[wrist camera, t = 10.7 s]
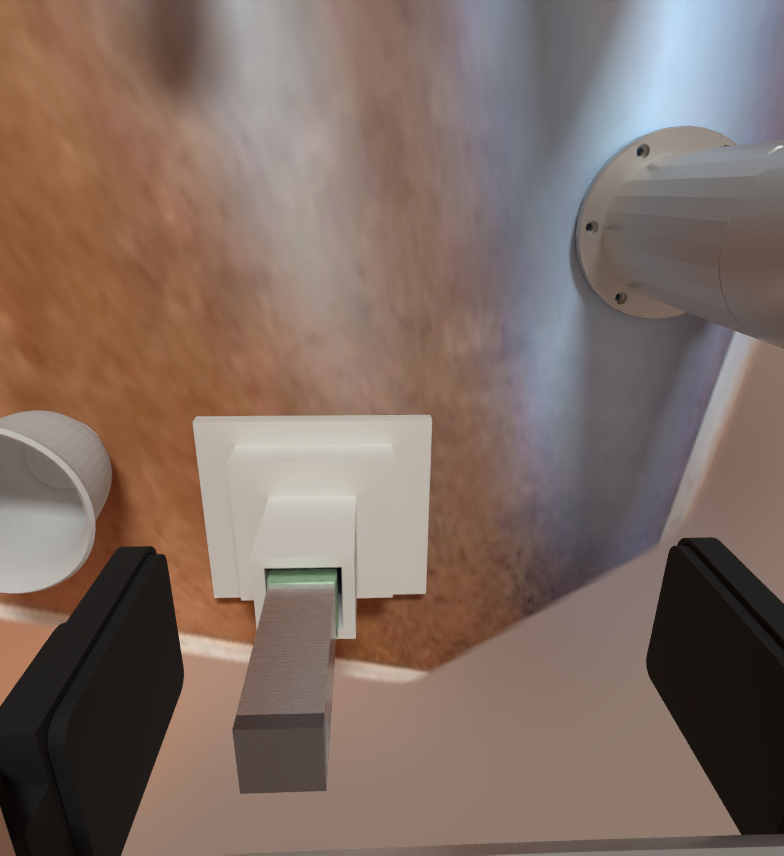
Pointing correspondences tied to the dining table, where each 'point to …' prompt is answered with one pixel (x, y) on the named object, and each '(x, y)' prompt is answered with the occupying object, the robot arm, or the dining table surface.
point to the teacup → (48, 498)
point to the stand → (316, 502)
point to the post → (289, 685)
